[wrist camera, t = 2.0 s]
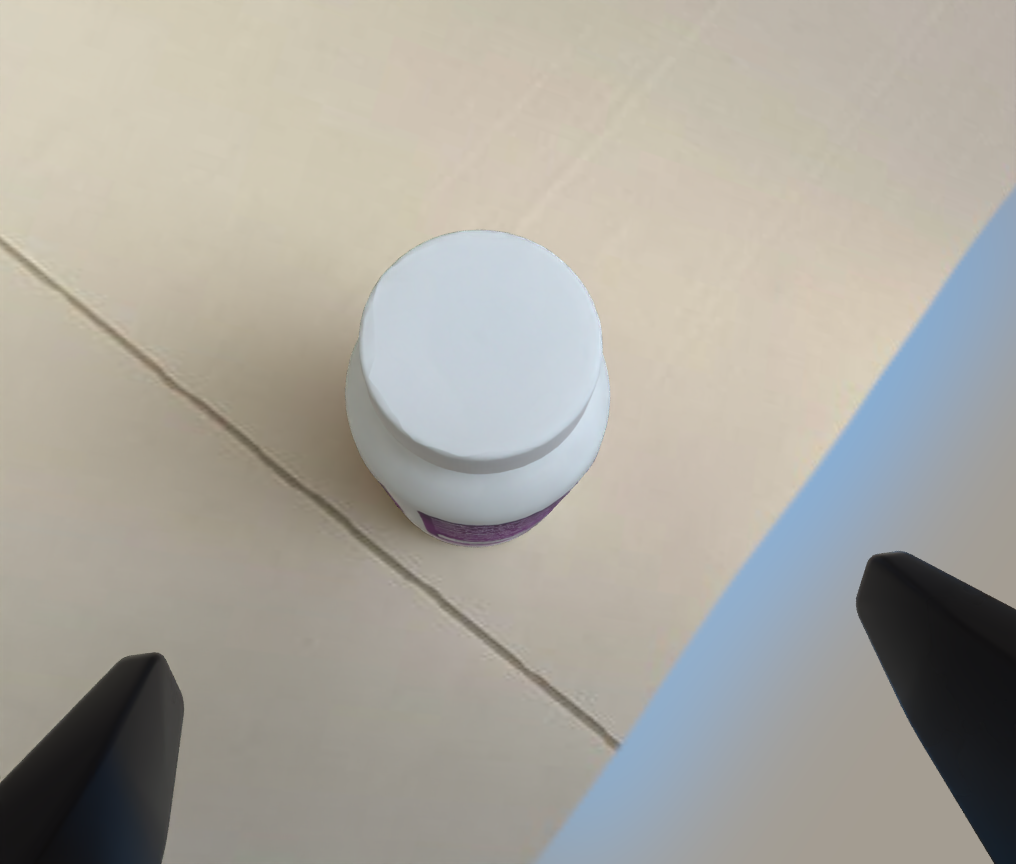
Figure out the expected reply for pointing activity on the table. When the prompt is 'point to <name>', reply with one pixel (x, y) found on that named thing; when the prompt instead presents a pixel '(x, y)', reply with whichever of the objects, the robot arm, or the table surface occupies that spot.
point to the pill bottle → (478, 385)
